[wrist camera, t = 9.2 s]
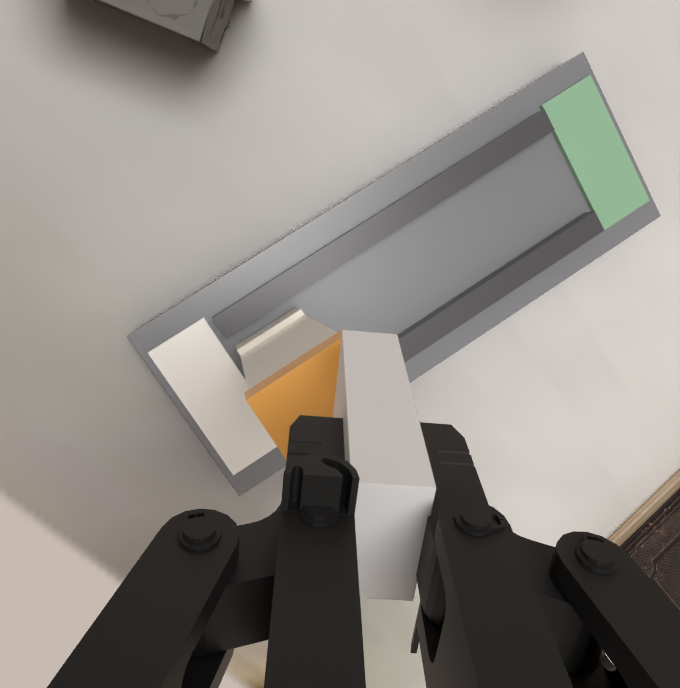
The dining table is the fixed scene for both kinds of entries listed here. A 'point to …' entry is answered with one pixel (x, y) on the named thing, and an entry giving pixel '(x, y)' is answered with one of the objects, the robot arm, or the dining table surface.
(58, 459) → the dining table surface
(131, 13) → the electrical switch
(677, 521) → the hardcover book
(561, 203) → the panel
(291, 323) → the breaker handle
